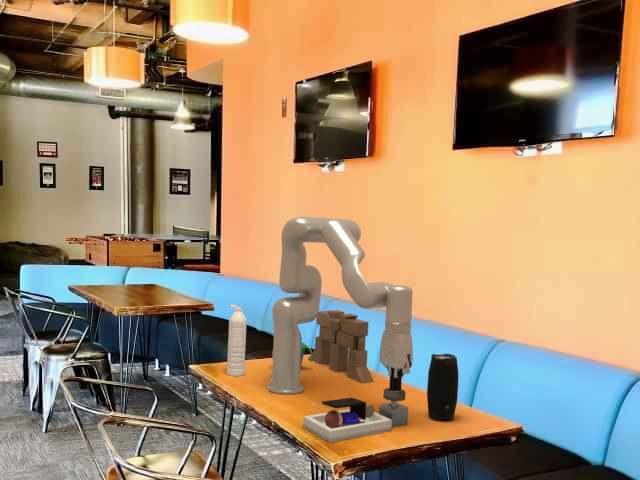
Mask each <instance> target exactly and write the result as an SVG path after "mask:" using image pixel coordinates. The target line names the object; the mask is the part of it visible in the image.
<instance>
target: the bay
mask: <svg viewBox="0 0 640 480" xmlns="http://www.w3.org/2000/svg"><path fill="white" fill-rule="evenodd" d="M337 411H338V412H340V413H347V412H350V408H347V409H341V410H337ZM327 413H328V412H323V413H318V414H312V415H306V416H303V418H302V428H304V429H305V430H307V431H309V432H310V433H312V434H314V435H315V436H317V437H318V438H320V439H322V440H324V441H326V442H327V443H329V444H330V443H336V442H340V441H345V440H350V439H351V440H352V439H356V438H361V437H365V436H370V435H375V434H382V433H386V432H392V430H393V429H392V428H393V427H392V420H391V419H389V418H386V417H384V416H382V415H380V414H379V412H378V413H377V412H375V411H374V414H373V416H372V417H370V418H368V417H366V420H363V419H361V421H360V422H365V423H360V424H357V423H352V424H342V425H341V426H340V427H338V428H332V429H331V428H329V427H328V426H327V425H326V424H325V416H326V414H327Z"/></svg>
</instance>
